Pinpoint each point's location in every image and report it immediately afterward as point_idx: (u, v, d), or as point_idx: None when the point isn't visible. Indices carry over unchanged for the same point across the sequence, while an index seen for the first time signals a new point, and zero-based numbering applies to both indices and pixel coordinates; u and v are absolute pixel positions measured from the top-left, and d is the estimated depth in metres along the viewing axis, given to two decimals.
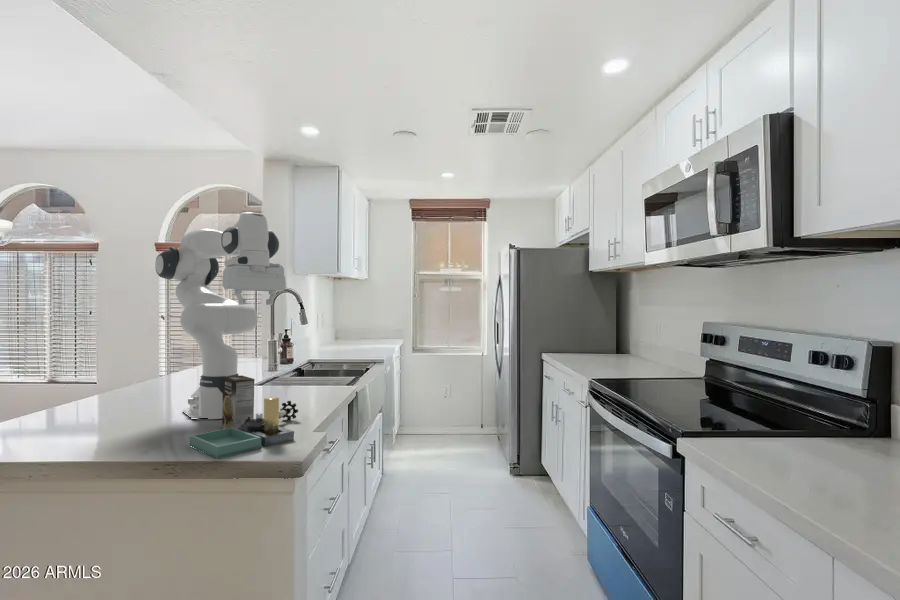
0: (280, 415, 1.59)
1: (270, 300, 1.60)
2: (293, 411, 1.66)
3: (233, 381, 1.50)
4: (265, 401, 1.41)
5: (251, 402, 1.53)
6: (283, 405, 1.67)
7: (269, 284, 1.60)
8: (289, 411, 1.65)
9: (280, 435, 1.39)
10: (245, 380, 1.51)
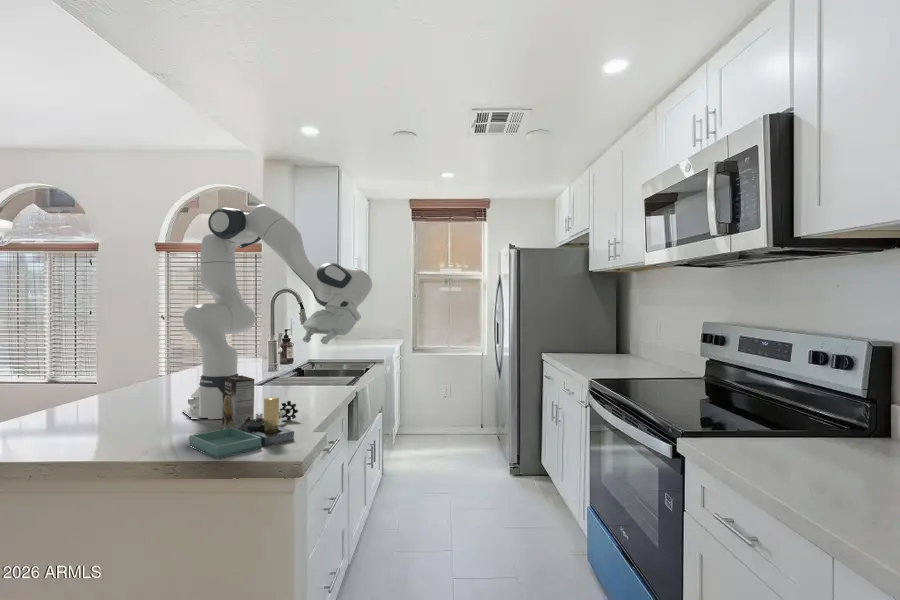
0: (280, 415, 1.59)
1: None
2: (293, 411, 1.65)
3: (233, 381, 1.50)
4: (265, 401, 1.41)
5: (251, 402, 1.53)
6: (283, 405, 1.67)
7: None
8: (289, 411, 1.65)
9: (280, 435, 1.39)
10: (245, 380, 1.51)
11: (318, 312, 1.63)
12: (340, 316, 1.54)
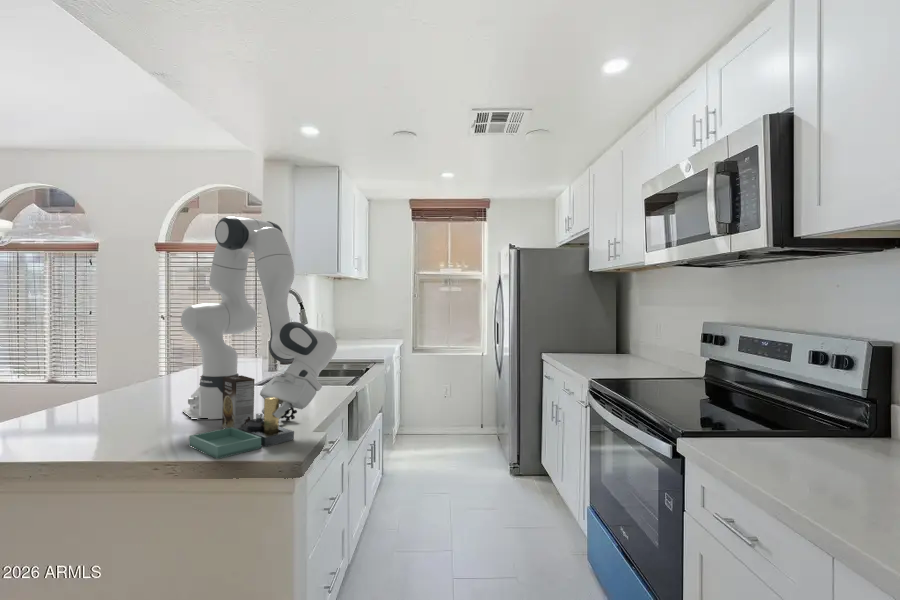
0: None
1: None
2: (292, 412, 1.65)
3: (233, 381, 1.50)
4: (265, 401, 1.41)
5: (251, 402, 1.53)
6: None
7: None
8: (288, 412, 1.64)
9: (280, 435, 1.39)
10: (245, 380, 1.51)
11: (277, 378, 1.51)
12: (298, 387, 1.43)
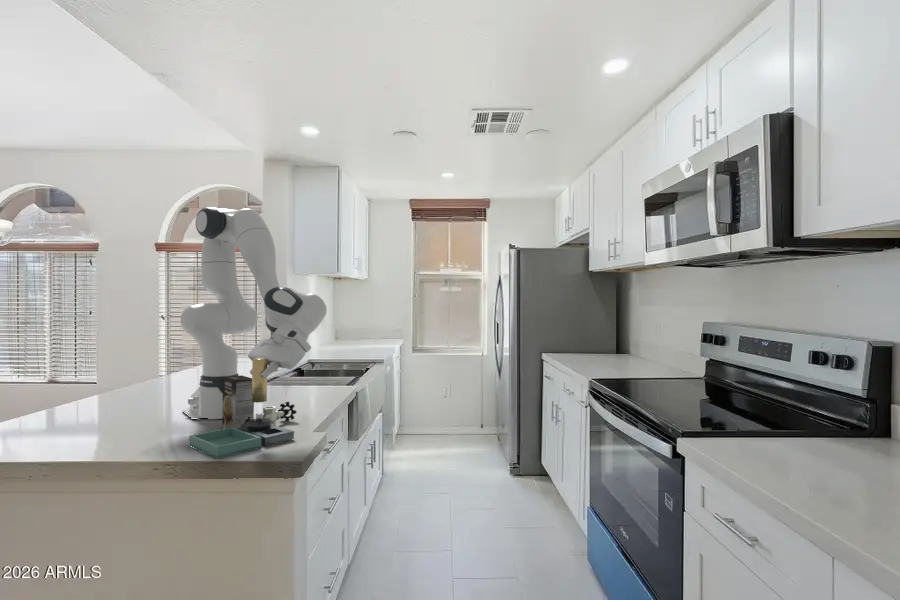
0: (278, 416, 1.58)
1: None
2: (291, 412, 1.64)
3: (233, 381, 1.50)
4: (253, 361, 1.39)
5: (251, 402, 1.53)
6: (281, 406, 1.65)
7: None
8: (287, 412, 1.63)
9: (280, 435, 1.39)
10: (245, 380, 1.51)
11: (265, 340, 1.49)
12: (287, 347, 1.41)
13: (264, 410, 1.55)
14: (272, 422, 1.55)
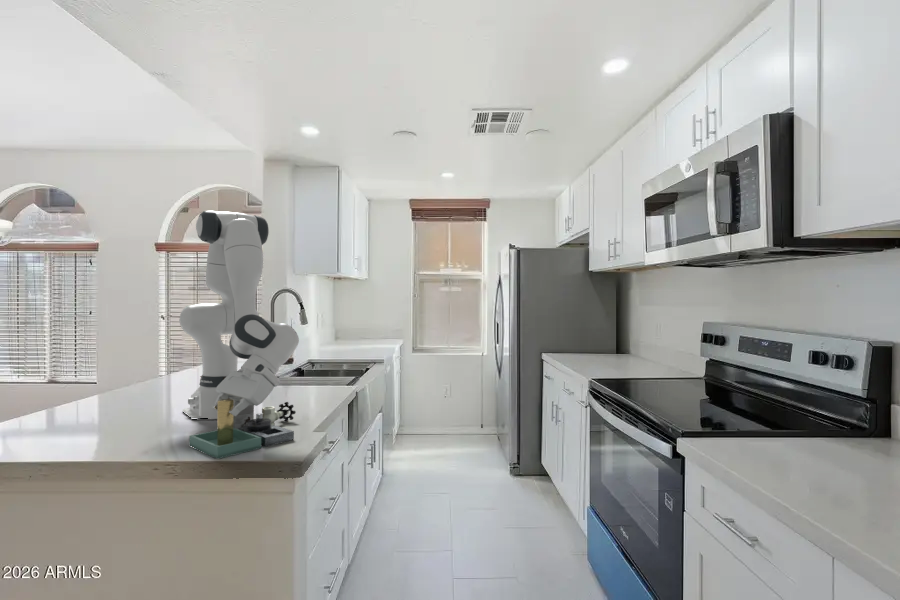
0: (277, 416, 1.57)
1: None
2: (290, 412, 1.64)
3: None
4: (218, 403, 1.33)
5: None
6: (280, 406, 1.65)
7: None
8: (286, 412, 1.63)
9: (280, 435, 1.39)
10: None
11: (234, 373, 1.43)
12: (254, 382, 1.35)
13: (263, 410, 1.54)
14: (271, 422, 1.54)
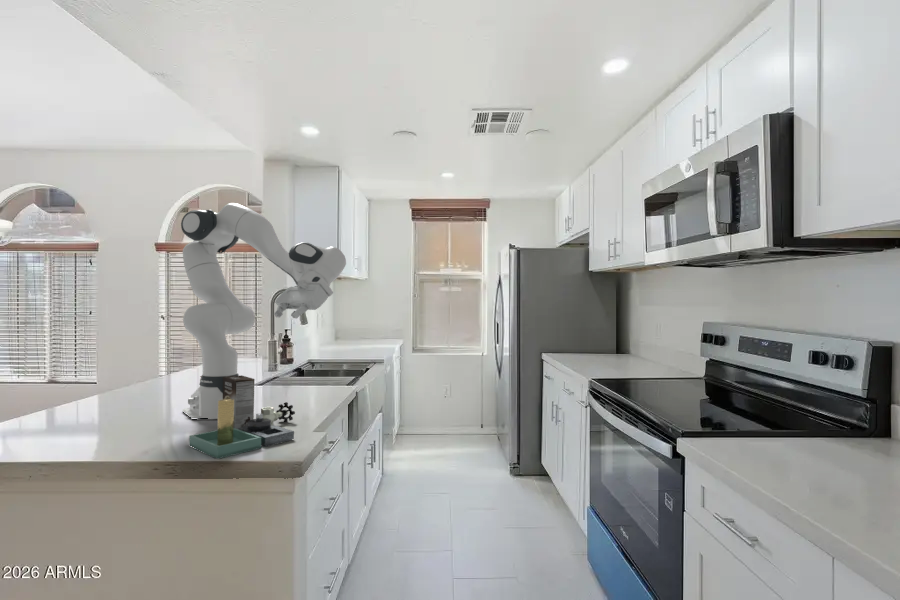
0: (276, 417, 1.57)
1: None
2: (290, 413, 1.63)
3: (233, 381, 1.50)
4: (219, 403, 1.33)
5: (251, 402, 1.53)
6: (280, 407, 1.64)
7: None
8: (285, 413, 1.62)
9: (280, 435, 1.39)
10: (245, 380, 1.51)
11: (291, 288, 1.62)
12: (311, 291, 1.54)
13: (262, 411, 1.54)
14: None
